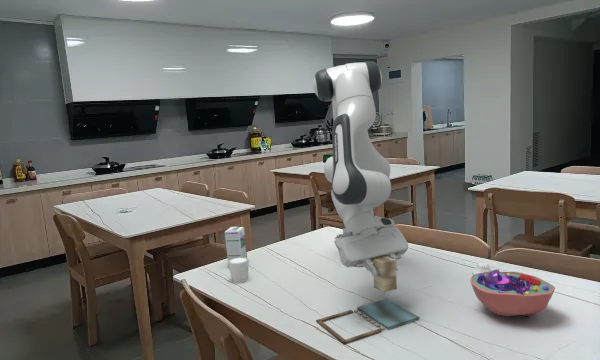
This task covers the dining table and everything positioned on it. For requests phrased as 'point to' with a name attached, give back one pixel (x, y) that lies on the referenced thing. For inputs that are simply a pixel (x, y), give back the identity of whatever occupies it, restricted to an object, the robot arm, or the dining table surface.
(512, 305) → the cell model
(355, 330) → the dining table surface
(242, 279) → the white cylinder
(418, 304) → the dining table surface
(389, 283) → the birch stub block
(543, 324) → the dining table surface
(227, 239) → the syrup box
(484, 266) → the muffin
